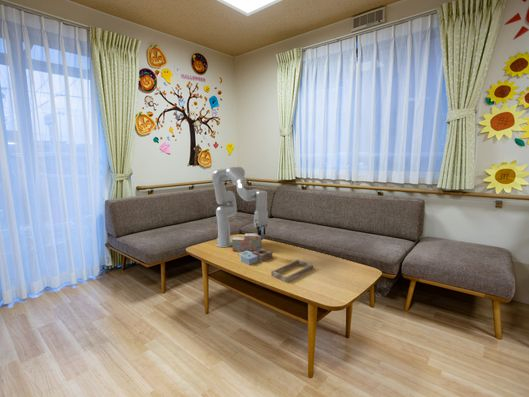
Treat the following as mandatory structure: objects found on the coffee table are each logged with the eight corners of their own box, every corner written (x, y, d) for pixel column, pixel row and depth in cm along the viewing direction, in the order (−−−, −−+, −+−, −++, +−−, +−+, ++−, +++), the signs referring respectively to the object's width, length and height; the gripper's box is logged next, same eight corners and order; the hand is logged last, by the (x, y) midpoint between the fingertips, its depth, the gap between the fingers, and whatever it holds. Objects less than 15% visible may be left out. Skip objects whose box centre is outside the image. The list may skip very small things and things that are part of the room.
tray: (238, 256, 197) (238, 253, 197) (246, 253, 203) (246, 250, 202) (245, 259, 192) (245, 256, 191) (254, 256, 197) (254, 253, 197)
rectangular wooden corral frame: (271, 275, 165) (271, 271, 165) (297, 263, 183) (297, 259, 182) (287, 282, 157) (287, 278, 156) (313, 269, 174) (313, 264, 174)
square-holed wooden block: (252, 257, 194) (251, 252, 194) (262, 253, 201) (262, 248, 201) (262, 261, 187) (262, 255, 187) (272, 257, 194) (272, 251, 194)
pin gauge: (258, 239, 192) (258, 225, 190) (261, 238, 194) (261, 224, 193) (261, 240, 190) (261, 226, 188) (264, 239, 192) (264, 225, 190)
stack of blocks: (232, 251, 207) (231, 235, 205) (233, 248, 213) (233, 233, 211) (260, 251, 206) (260, 235, 204) (261, 248, 212) (261, 233, 210)
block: (241, 261, 187) (241, 255, 187) (249, 258, 193) (249, 252, 192) (249, 264, 182) (248, 259, 181) (257, 261, 187) (257, 255, 187)
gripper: (266, 206, 197) (265, 231, 200) (248, 209, 185) (248, 236, 189) (273, 208, 192) (273, 233, 195) (256, 211, 180) (256, 238, 184)
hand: (261, 234), depth 192 cm, fingers closed on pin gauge, 3 cm apart
